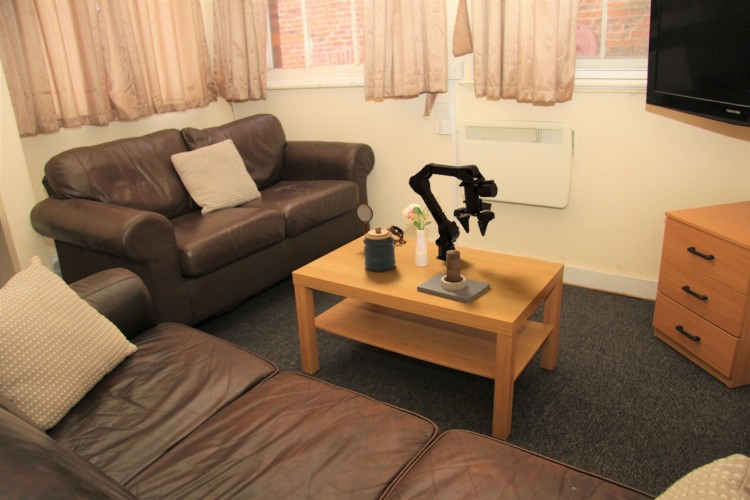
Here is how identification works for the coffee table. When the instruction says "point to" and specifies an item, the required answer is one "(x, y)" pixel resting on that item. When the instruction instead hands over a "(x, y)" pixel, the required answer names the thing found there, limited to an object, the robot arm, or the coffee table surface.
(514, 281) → the coffee table surface
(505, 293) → the coffee table surface
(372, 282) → the coffee table surface
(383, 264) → the canister
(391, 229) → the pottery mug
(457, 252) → the walnut column
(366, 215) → the magnifying glass
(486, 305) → the coffee table surface
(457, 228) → the robot arm
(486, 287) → the base board
